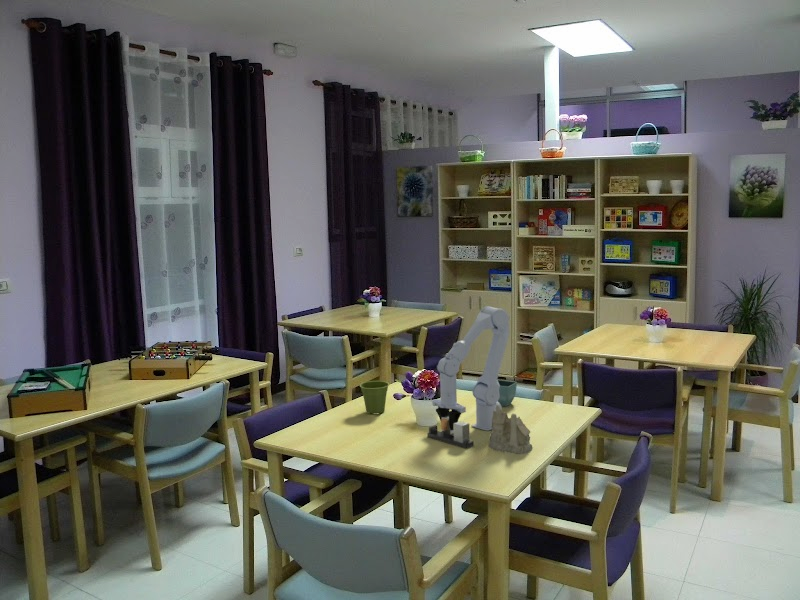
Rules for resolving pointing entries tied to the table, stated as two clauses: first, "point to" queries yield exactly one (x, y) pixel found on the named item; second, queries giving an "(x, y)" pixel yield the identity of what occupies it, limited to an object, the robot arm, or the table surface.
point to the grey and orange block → (446, 424)
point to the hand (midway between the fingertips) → (449, 428)
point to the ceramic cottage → (509, 433)
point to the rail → (447, 437)
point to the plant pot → (374, 395)
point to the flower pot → (506, 392)
